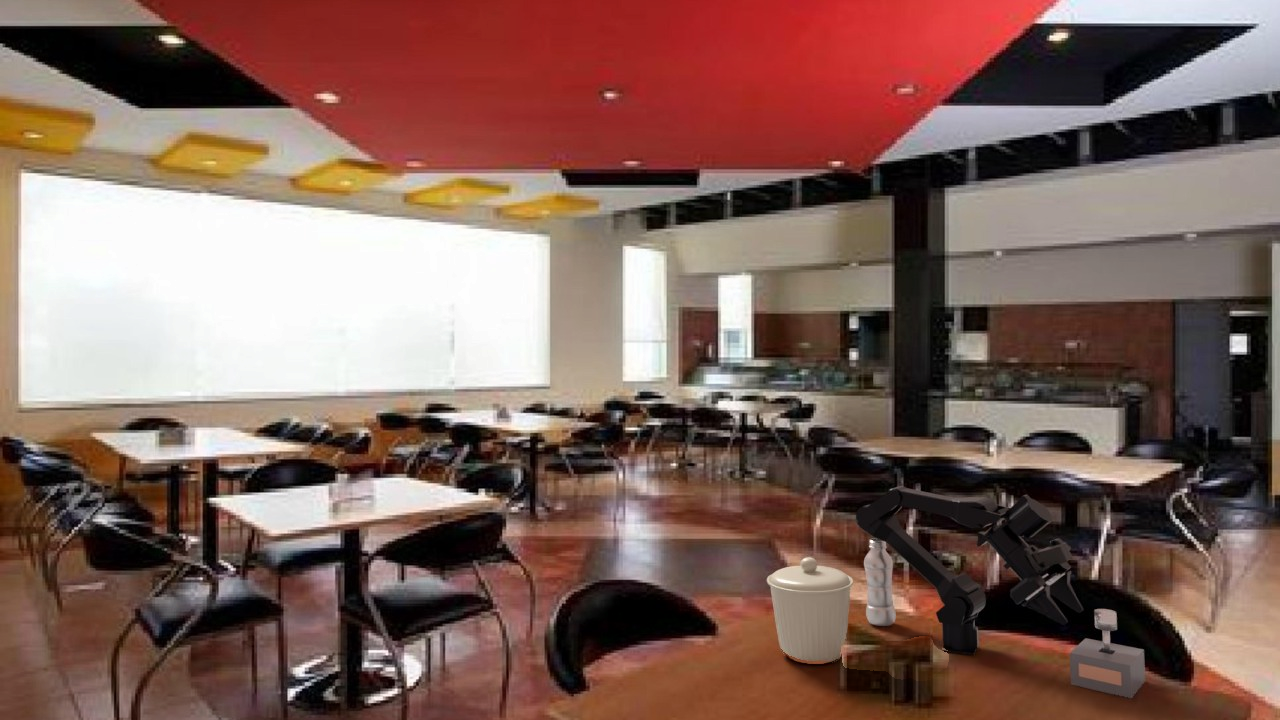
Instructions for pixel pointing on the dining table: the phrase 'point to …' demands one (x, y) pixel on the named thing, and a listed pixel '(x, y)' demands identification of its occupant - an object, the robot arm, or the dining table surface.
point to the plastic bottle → (879, 584)
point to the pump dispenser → (1107, 668)
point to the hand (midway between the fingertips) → (1073, 617)
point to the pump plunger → (1105, 625)
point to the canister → (811, 610)
